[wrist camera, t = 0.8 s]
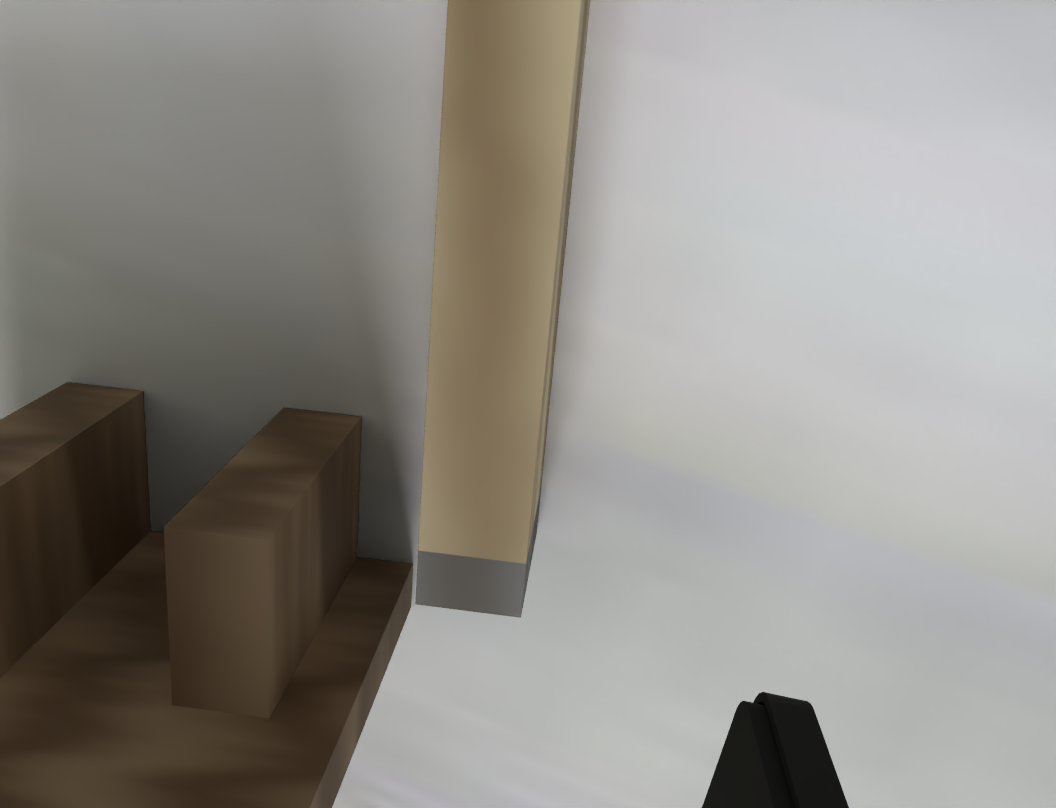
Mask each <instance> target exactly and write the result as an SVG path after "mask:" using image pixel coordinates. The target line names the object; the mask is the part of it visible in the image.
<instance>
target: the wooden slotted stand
mask: <svg viewBox="0 0 1056 808" xmlns="http://www.w3.org/2000/svg"><path fill="white" fill-rule="evenodd" d="M360 450H361V417H360V416H352V415H343V414H335V413H326V412H318V411H309V410H301V409H292V408H283V409H282V410H281V411H280V412H279V413H278V414H277V415H276V416H275V417H274V418H273V419H272V420H271V421H270V422H269V423H268V424H267V425H266V426H265V427H264V428H263V429H262V430H261V431H260V432H259V433H258V434H257V435H256V436H255V437H254V438H253V439H252V440H251V441H250V442H249V443H248V444H247V445H246V446H245V447H244V448H243V449H242V450H241V451H240V452H239V453H238V454H237V455H236V456H235V457H234V458H233V459H232V460H231V461H230V462H229V463H228V464H227V465H226V466H225V467H224V468H223V469H222V470H220V471H219V472H218V473H217V474H216V475H215V476H214V477H213V478H212V479H211V480H210V481H209V482H208V483H207V484H206V485H205V486H204V487H203V488H202V489H201V490H200V491H199V492H198V493H197V494H196V495H195V496H194V497H193V498H192V499H191V500H190V501H189V502H188V503H187V504H186V505H185V506H184V507H183V508H182V509H181V510H180V511H179V512H178V513H177V514H176V515H175V516H174V517H173V518H172V519H171V520H170V521H169V522H168V523H167V524H166V525H165V526H164V533H161V532H153V531H150V512H149V493H148V474H147V455H146V436H145V418H144V399H143V391H138V390H129V389H121V388H112V387H104V386H95V385H87V384H78V383H70V382H67V383H65V384H63V385H62V386H60V387H58V388H56V389H55V390H53V391H51V392H49V393H47V394H46V395H44V396H42V397H40V398H39V399H37V400H35V401H33V402H31V403H30V404H28V405H26V406H24V407H23V408H21V409H19V410H17V411H15V412H14V413H12V414H10V415H8V416H7V417H5V418H3V419H1V420H0V808H332V806H333V803H334V801H335V798H336V796H337V793H338V791H339V788H340V786H341V783H342V781H343V778H344V775H345V773H346V770H347V768H348V765H349V763H350V760H351V758H352V755H353V753H354V750H355V748H356V745H357V742H358V740H359V737H360V735H361V732H362V730H363V727H364V725H365V722H366V720H367V717H368V715H369V712H370V709H371V707H372V704H373V702H374V699H375V697H376V694H377V692H378V689H379V687H380V684H381V682H382V679H383V677H384V674H385V671H386V669H387V666H388V664H389V661H390V659H391V656H392V654H393V651H394V649H395V646H396V644H397V641H398V638H399V636H400V633H401V631H402V628H403V626H404V623H405V621H406V618H407V616H408V613H409V611H410V608H411V591H412V572H413V564H408V563H400V562H392V561H384V560H376V559H368V558H360V557H357V550H358V517H359V483H360Z"/></svg>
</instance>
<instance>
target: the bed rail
mask: <svg viewBox="0 0 1056 808" xmlns="http://www.w3.org/2000/svg"><path fill="white" fill-rule="evenodd" d="M589 7H590V0H448V9H447V28H446V46H445V65H444V84H443V102H442V121H441V139H440V158H439V176H438V195H437V214H436V232H435V251H434V269H433V288H432V306H431V325H430V344H429V362H428V381H427V399H426V418H425V436H424V455H423V473H422V492H421V511H420V529H419V548H418V566H417V585H416V603H415V604H419V605H426V606H434V607H442V608H450V609H458V610H466V611H473V612H481V613H489V614H497V615H505V616H513V617H520V618H521V613H522V608H523V603H524V597H525V592H526V587H527V581H528V576H529V570H530V565H531V560H532V554H533V549H534V544H535V538H536V532H537V522H538V513H539V503H540V493H541V483H542V473H543V463H544V453H545V443H546V433H547V423H548V413H549V403H550V393H551V384H552V374H553V364H554V354H555V344H556V334H557V324H558V314H559V304H560V294H561V284H562V274H563V265H564V255H565V245H566V235H567V225H568V215H569V205H570V195H571V185H572V175H573V165H574V155H575V145H576V136H577V126H578V116H579V106H580V96H581V86H582V76H583V66H584V56H585V46H586V36H587V26H588V17H589Z"/></svg>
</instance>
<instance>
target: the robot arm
mask: <svg viewBox="0 0 1056 808" xmlns="http://www.w3.org/2000/svg"><path fill="white" fill-rule="evenodd" d="M702 808H849V807H848V804H847V801H846V799H845V796H844V793H843V790H842V787H841V785H840V782H839V779H838V776H837V773H836V771H835V768H834V765H833V762H832V759H831V757H830V754H829V751H828V748H827V745H826V743H825V740H824V737H823V734H822V731H821V728H820V726H819V723H818V720H817V717H816V714H815V712H814V709H813V707H812V705H811V704H810V703H809V702H807V701H803V700H798V699H793V698H789V697H784V696H779V695H774V694H770V693H765V692H762V693H759V694H758V696H757V697H756V698H755V700H754V703H751V702H746V701H742V702H741V703H740V704H739V705H738V708H737V710H736V712H735V715H734V718H733V721H732V724H731V727H730V729H729V732H728V735H727V738H726V741H725V744H724V747H723V749H722V752H721V755H720V758H719V761H718V764H717V767H716V769H715V772H714V775H713V778H712V781H711V784H710V787H709V789H708V792H707V795H706V798H705V801H704V804H703V807H702Z"/></svg>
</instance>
